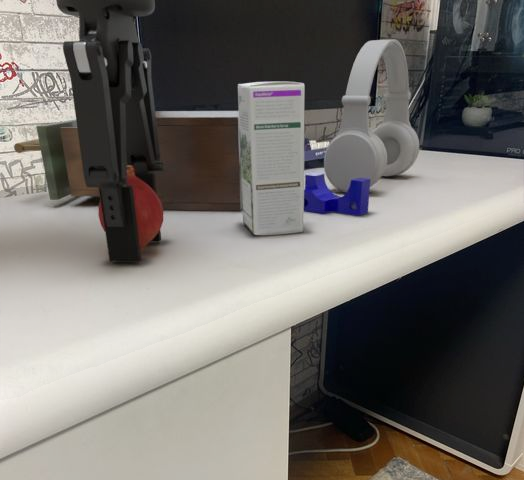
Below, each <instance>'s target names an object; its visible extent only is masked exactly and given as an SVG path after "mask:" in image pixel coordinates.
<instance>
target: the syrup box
mask: <svg viewBox="0 0 524 480" xmlns="http://www.w3.org/2000/svg"><path fill="white" fill-rule="evenodd" d="M305 88H306V87H305V83H304V82H299V81H298V82H296V81H279V80H277V81H255V82H254V81H253V82H246V83H238V84H237V103H238V106H237V108H238V111H239V135H240V156H241V184H242V207H243V208H242V224H243V225H244V226H245V227H246V228H247V229H248V230H249V231H250V233H252V235H254V236H275V235H276V236H277V235H285V234H286V235H287V234H296V233H297V234H298V233H303V232H304V218H305V217H304V215H305V214H304V213H305V212H304V187H305V97H306V96H305V95H306V93H305V91H306V90H305Z"/></svg>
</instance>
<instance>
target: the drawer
mask: <svg viewBox="0 0 524 480" xmlns="http://www.w3.org/2000/svg"><path fill="white" fill-rule="evenodd" d="M35 127H36V133H37V137H38V138H35V139H30V140H26V141H20V142H16V143H14V145H13V149H14V151H15V152H16V153H18V154H23V153H26V152H30V151H40V155H41V159H42V164H43V170H44V174H45V180H46V186H47V190H48V196H49V200H50V201H59V200H61V199H64V198H65V197H68V196H71V197H100V193H99V187H87V186H86V183H85V179H84V174H83V166H82V159H81V151H80V144H79V137H78V129H77V122H76V118H75V119H70V120H64V121H58V122H57V121H56V122H52V123H47V124H40V125H36V126H35Z"/></svg>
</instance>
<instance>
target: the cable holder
mask: <svg viewBox="0 0 524 480" xmlns="http://www.w3.org/2000/svg"><path fill="white" fill-rule="evenodd" d="M370 180H371V179H366V178H357V179H353V180H351V183H350V187H349V189H348V191H347V193H344V195H343V196H342V195H341V196H339V195H337V194H335V193H333V192H332V190H330V188H329V187H328V185H327V183H326V179H325V173H321V172H312V173H307V174H304V211H305V212H311V213H317V214H324V215H325V214H328V213H331V212H332V213H338V214H344V215H351V216H356V217H357V216H358V217H361V216H363V215H366V214H368V213H369V206H370V205H369V204H370V193H371V191H370V190H371V187H370Z"/></svg>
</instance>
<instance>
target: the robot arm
mask: <svg viewBox="0 0 524 480" xmlns="http://www.w3.org/2000/svg"><path fill="white" fill-rule="evenodd" d="M55 1H56V5H57V8H58V10H59V11H60V12H61V13H62V14H65V15H67V16H72V17H78V21H79V22H78V24H79V26H78V27H79V29H78V38H79V40H67V41H63V42H62V43H63V44H62V51H63V55H64V59H65V63H66V67H67V71H68V74H69V78H70V84H71V90H72V98H73V99H72V100H73V107H74V113H75V114H74V115H75V119H76V122H77V129H78V137H79V144H80V151H81V159H82V166H83V174H84V179H85V183H86V186H87V187H99V193H100V196H99V201H100V200H101V206H102V213H103V220H104V226H105V231H104V233H105V239H106V246H107V252H108V253H107V254H108V259H109V262H124V263H125V262H126V263H127V262H129V263H131V262H132V263H139V262H140V261H141V260H142V253H141V252H140V245H139V236H138V228H137V220H136V211H135V203H134V195H133V187H132V186H127V165H132V166H133V168H134V173H135V176H136V177H138V178H139V179H141V180H142V181H144V182H145V183H146V184H147V185H149V186H150V187H151V188H152V189H153V190H154V192H155V193H156V194H157V192H156V182H155V173H152V172H162V171H163V162H159V161H160V151H159V142H158V133H157V124H156V115H155V111H156V108H155V107H156V106H155V98H154V97H155V96H154V90H153V89H154V88H153V80H152V53H151V51H150V49H149V48H143V46H142V43H141V42H139V37H138V33H137V28H136V24H135V19H136V18H137V17H146V16H150V15H152V14H153V13H154V11H155V9H156V3H155V0H55ZM161 241H162V233H161V230H160V231H159V232H158V233H157V235H156V236H155V237H154V238H153V239H152V240H151V241H150V243H151V242H155V243H156V242H157V243H159V242H161Z"/></svg>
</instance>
